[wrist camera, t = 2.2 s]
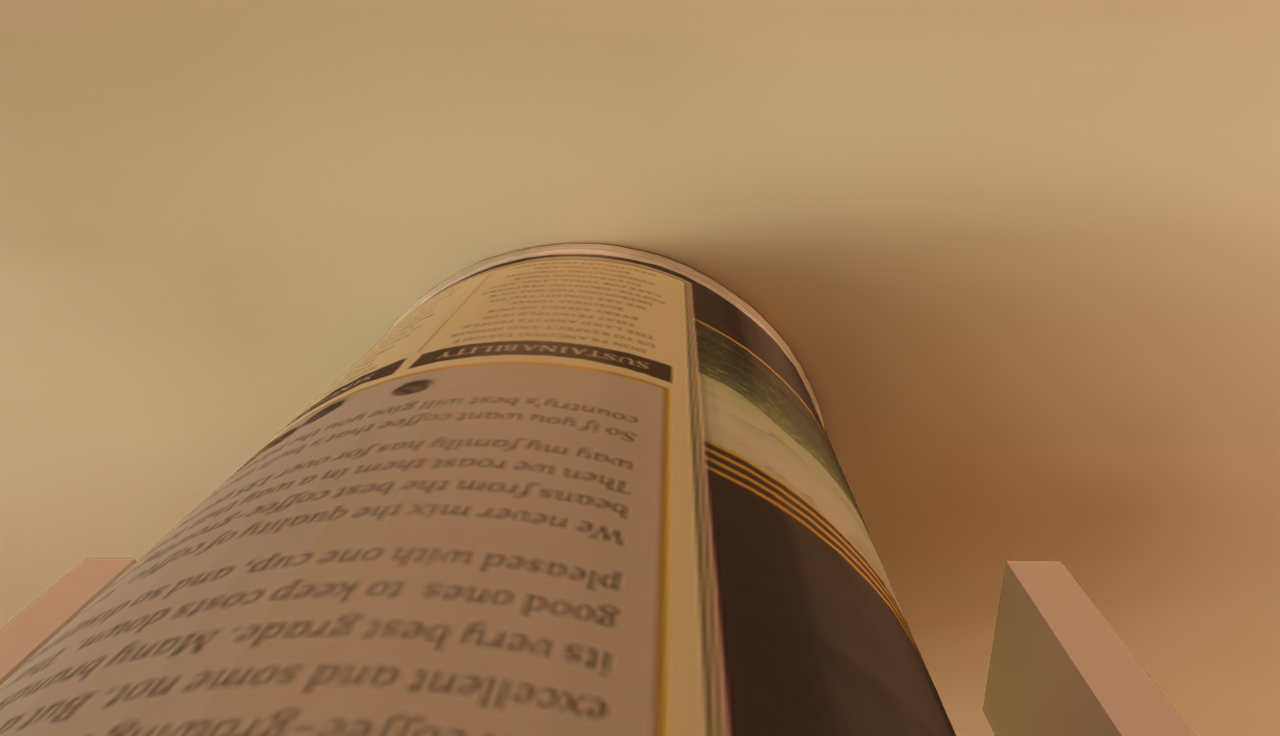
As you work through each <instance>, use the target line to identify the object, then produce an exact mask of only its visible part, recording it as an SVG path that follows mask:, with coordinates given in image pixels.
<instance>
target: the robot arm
mask: <svg viewBox="0 0 1280 736" xmlns="http://www.w3.org/2000/svg"><path fill="white" fill-rule="evenodd" d="M135 563H136V561H135V558H87V559H86V560H84V561H83V562H82V563H81V564H79V565H78V566H77V567H76V568H75V569H73V570H72V571H71V572H70V573H69V574H67V575H66V576H65V577H64V578H63V579H61V580H60V581H59V582H58V583H57V584H55V585H54V586H53V587H52V588H51V589H49V590H48V591H47V592H46V593H44V594H43V595H42V596H41V597H40V598H38V599H37V600H36V601H35V602H34V603H32V604H31V605H30V606H29V607H28V608H26V609H25V610H24V611H23V612H22V613H20V614H19V615H18V616H17V617H15V618H14V619H13V620H12V621H11V622H9V623H8V624H7V625H6V626H5V627H3V628H2V629H1V630H0V685H1V684H2V683H3V682H5V681H6V680H7V679H8V678H9V677H10V676H11V675H12V674H13V673H14V672H16V671H17V670H18V669H19V668H20V667H21V666H22V665H23V664H24V663H25V662H27V661H28V660H29V659H30V658H31V657H32V656H33V655H34V654H35V653H36V652H38V651H39V650H40V649H41V648H42V647H43V646H44V645H45V644H46V643H47V642H49V641H50V640H51V639H52V638H53V637H54V636H55V635H56V634H57V633H59V632H60V631H61V630H62V629H63V628H64V627H65V626H66V625H67V624H68V623H70V622H71V621H72V620H73V619H74V618H75V617H76V616H77V615H78V614H79V613H81V612H82V611H83V610H84V609H85V608H86V607H87V606H88V605H89V604H91V603H92V602H93V601H94V600H95V599H96V598H97V597H98V596H99V595H100V594H102V593H103V592H104V591H105V590H106V589H107V588H108V587H109V586H110V585H112V584H113V583H114V582H115V581H116V580H117V579H118V578H119V577H120V576H121V575H123V574H124V573H125V572H126V571H127V570H128V569H129V568H130V567H131V566H133V565H134V564H135ZM983 711H984V713H985V715H986V717H987V719H988V722H989V724H990V726H991V728H992V730H993V732H994V734H995V736H1195V735H1194V734H1193V732H1192V731H1191V730H1190V729H1189V727H1188V726H1187V725H1186V723H1185V722H1184V721H1183V719H1182V718H1181V717H1180V716H1179V714H1178V713H1177V712H1176V710H1175V709H1174V708H1173V706H1172V705H1171V704H1170V703H1169V701H1168V700H1167V699H1166V697H1165V696H1164V695H1163V693H1162V692H1161V691H1160V690H1159V688H1158V687H1157V686H1156V684H1155V683H1154V682H1153V680H1152V679H1151V678H1150V677H1149V675H1148V674H1147V673H1146V671H1145V670H1144V669H1143V667H1142V666H1141V665H1140V664H1139V662H1138V661H1137V660H1136V658H1135V657H1134V656H1133V654H1132V653H1131V652H1130V651H1129V649H1128V648H1127V647H1126V645H1125V644H1124V643H1123V642H1122V640H1121V639H1120V638H1119V636H1118V635H1117V634H1116V632H1115V631H1114V630H1113V629H1112V627H1111V626H1110V625H1109V623H1108V622H1107V621H1106V619H1105V618H1104V617H1103V616H1102V614H1101V613H1100V612H1099V610H1098V609H1097V608H1096V606H1095V605H1094V604H1093V603H1092V601H1091V600H1090V599H1089V597H1088V596H1087V595H1086V593H1085V592H1084V591H1083V590H1082V588H1081V587H1080V586H1079V584H1078V583H1077V582H1076V580H1075V579H1074V578H1073V577H1072V575H1071V574H1070V573H1069V571H1068V570H1067V569H1066V567H1065V566H1064V565H1063V564H1062V562H1061V561H1006V566H1005V573H1004V579H1003V585H1002V592H1001V598H1000V604H999V611H998V617H997V623H996V630H995V636H994V642H993V649H992V655H991V661H990V668H989V674H988V680H987V687H986V693H985V700H984V706H983Z"/></svg>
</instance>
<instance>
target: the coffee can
mask: <svg viewBox="0 0 1280 736" xmlns="http://www.w3.org/2000/svg"><path fill="white" fill-rule="evenodd" d="M0 736H956V735H955V732H954V730H953V727H952V725H951V723H950V720H949V718H948V716H947V714H946V712H945V709H944V707H943V705H942V702H941V700H940V697H939V695H938V692H937V690H936V688H935V686H934V684H933V682H932V679H931V677H930V675H929V673H928V670H927V668H926V666H925V663H924V661H923V659H922V657H921V654H920V652H919V650H918V647H917V645H916V643H915V641H914V638H913V636H912V634H911V632H910V629H909V627H908V625H907V622H906V620H905V618H904V615H903V613H902V611H901V608H900V606H899V603H898V601H897V599H896V596H895V594H894V592H893V589H892V587H891V585H890V582H889V580H888V577H887V575H886V573H885V570H884V568H883V566H882V563H881V561H880V559H879V556H878V554H877V552H876V550H875V548H874V546H873V544H872V541H871V538H870V536H869V533H868V530H867V528H866V525H865V523H864V521H863V518H862V516H861V513H860V511H859V509H858V506H857V504H856V502H855V499H854V497H853V495H852V492H851V490H850V488H849V485H848V483H847V481H846V479H845V476H844V474H843V472H842V469H841V467H840V465H839V462H838V460H837V458H836V456H835V453H834V451H833V449H832V446H831V444H830V442H829V439H828V437H827V435H826V432H825V427H824V422H823V418H822V415H821V411H820V408H819V405H818V403H817V400H816V398H815V395H814V392H813V390H812V387H811V385H810V383H809V381H808V379H807V377H806V375H805V373H804V371H803V369H802V368H801V366H800V364H799V363H798V361H797V360H796V358H795V356H794V355H793V353H792V352H791V350H790V348H789V347H788V345H787V344H786V343H785V342H784V341H783V340H782V338H781V337H780V336H779V335H778V334H777V332H776V331H775V330H774V329H773V328H772V327H771V326H770V325H769V324H768V323H767V322H766V321H765V320H764V319H763V318H762V317H761V315H760V314H759V313H757V312H756V311H755V310H754V309H753V308H752V307H751V306H750V305H748V304H747V303H746V302H744V301H743V300H742V299H740V298H739V297H738V296H736V295H735V294H733V293H732V292H731V291H729V290H728V289H726V288H725V287H723V286H722V285H720V284H719V283H717V282H716V281H714V280H712V279H711V278H709V277H707V276H705V275H703V274H701V273H699V272H697V271H696V270H694V269H692V268H690V267H688V266H686V265H684V264H681V263H679V262H676V261H674V260H671V259H668V258H666V257H663V256H659V255H655V254H651V253H647V252H644V251H639V250H635V249H630V248H625V247H620V246H612V245H602V244H571V243H570V244H559V245H549V246H540V247H533V248H528V249H523V250H518V251H514V252H510V253H507V254H503V255H499V256H496V257H493V258H489V259H485V260H483V261H481V262H479V263H477V264H475V265H472V266H470V267H468V268H466V269H464V270H462V271H461V272H459V273H457V274H456V275H454V276H452V277H451V278H449V279H447V280H446V281H444V282H442V283H441V284H439V285H437V286H436V287H435V288H433V289H432V290H430V291H429V292H428V293H426V294H425V295H424V296H423V297H422V298H420V299H419V300H418V301H417V302H416V303H415V304H414V305H413V306H412V307H411V308H410V309H409V310H408V311H407V312H406V313H405V314H403V315H402V316H401V317H400V318H399V319H398V320H397V321H396V322H395V324H394V325H393V326H392V327H391V329H390V330H389V331H388V333H387V334H386V335H385V337H384V338H383V339H382V340H381V341H379V342H378V343H377V344H376V345H375V346H374V347H373V348H372V349H371V350H370V351H369V352H368V353H366V354H365V355H364V356H363V357H362V358H361V359H360V360H359V361H358V362H357V363H355V364H354V365H353V366H352V367H351V368H350V369H349V370H347V371H346V372H345V373H344V374H343V375H342V376H341V377H340V378H339V379H337V380H336V381H335V382H334V383H333V384H332V385H331V386H330V387H329V388H328V389H327V390H326V391H325V392H324V393H322V394H321V395H320V396H319V397H318V398H317V399H316V400H315V401H314V402H313V403H312V404H310V405H309V406H308V407H307V408H306V409H305V410H304V411H303V412H302V413H301V414H299V415H298V416H297V417H296V418H295V419H294V420H293V421H292V422H291V423H290V424H288V425H287V426H286V427H285V428H284V429H282V430H281V431H280V432H278V433H277V434H276V435H275V436H274V437H273V438H272V439H271V440H270V441H269V442H268V443H267V444H266V445H265V446H264V447H263V448H262V449H261V450H259V451H258V452H257V453H256V454H255V455H254V456H253V457H252V458H251V459H250V460H249V461H248V462H247V463H246V464H245V465H244V466H243V467H241V468H240V469H239V470H238V471H237V472H236V473H235V474H234V475H232V476H231V477H230V478H229V479H228V480H227V481H226V482H225V483H223V484H222V485H221V486H220V487H219V488H218V489H217V490H216V491H214V492H213V493H212V494H211V495H210V496H209V497H208V498H207V499H206V500H204V501H203V502H202V503H201V504H200V505H199V506H198V507H197V508H196V509H194V510H193V511H192V512H191V513H190V514H189V515H188V516H187V517H186V518H185V519H183V520H182V521H181V522H180V523H179V524H178V525H177V526H176V527H175V528H173V529H172V530H171V531H170V532H169V533H168V534H167V535H166V536H165V537H164V538H162V539H161V540H160V541H159V542H158V543H157V544H156V545H155V546H154V547H152V548H151V549H150V550H149V551H148V552H147V553H146V554H145V555H144V556H142V557H141V558H140V559H139V560H138V561H137V562H136V563H135V564H134V565H133V566H131V567H130V568H129V569H128V570H127V571H126V572H125V573H124V574H123V575H121V576H120V577H119V578H118V579H117V580H116V581H115V582H114V583H113V584H112V585H110V586H109V587H108V588H107V589H106V590H105V591H104V592H103V593H102V594H100V595H99V596H98V597H97V598H96V599H95V600H94V601H93V602H92V603H91V604H89V605H88V606H87V607H86V608H85V609H84V610H83V611H82V612H81V613H79V614H78V615H77V616H76V617H75V618H74V619H73V620H72V621H71V622H70V623H68V624H67V625H66V626H65V627H64V628H63V629H62V630H61V631H60V632H59V633H57V634H56V635H55V636H54V637H53V638H52V639H51V640H50V641H49V642H47V643H46V644H45V645H44V646H43V647H42V648H41V649H40V650H39V651H38V652H36V653H35V654H34V655H33V656H32V657H31V658H30V659H29V660H28V661H27V662H25V663H24V664H23V665H22V666H21V667H20V668H19V669H18V670H17V671H16V672H14V673H13V674H12V675H11V676H10V677H9V678H8V679H7V680H6V681H5V682H3V683H2V684H1V685H0Z"/></svg>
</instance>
